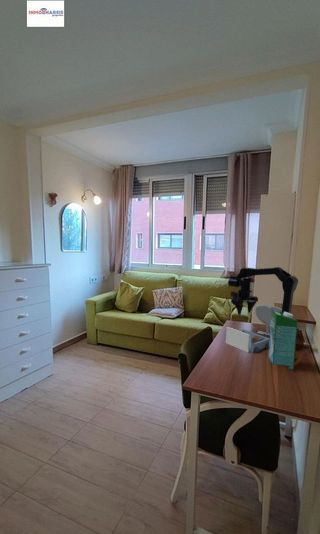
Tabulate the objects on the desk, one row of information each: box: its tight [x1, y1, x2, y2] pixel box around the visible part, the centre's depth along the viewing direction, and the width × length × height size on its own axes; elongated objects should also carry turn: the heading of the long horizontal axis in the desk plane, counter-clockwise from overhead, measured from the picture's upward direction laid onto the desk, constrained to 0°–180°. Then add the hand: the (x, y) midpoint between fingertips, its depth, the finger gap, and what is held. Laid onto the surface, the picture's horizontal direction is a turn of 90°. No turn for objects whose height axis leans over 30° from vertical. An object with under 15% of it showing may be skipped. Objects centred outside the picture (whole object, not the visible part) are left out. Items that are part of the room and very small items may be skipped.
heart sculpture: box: [254, 304, 282, 337], centre depth 156 cm, size 16×5×18 cm, turn 61°
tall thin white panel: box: [225, 326, 250, 353], centre depth 131 cm, size 14×1×9 cm, turn 35°
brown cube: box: [251, 336, 263, 344], centre depth 134 cm, size 4×4×4 cm
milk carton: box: [267, 309, 299, 370], centre depth 116 cm, size 9×9×25 cm
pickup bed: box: [224, 329, 270, 354], centre depth 136 cm, size 19×16×6 cm
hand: (244, 313), depth 151 cm, fingers open, 9 cm apart
